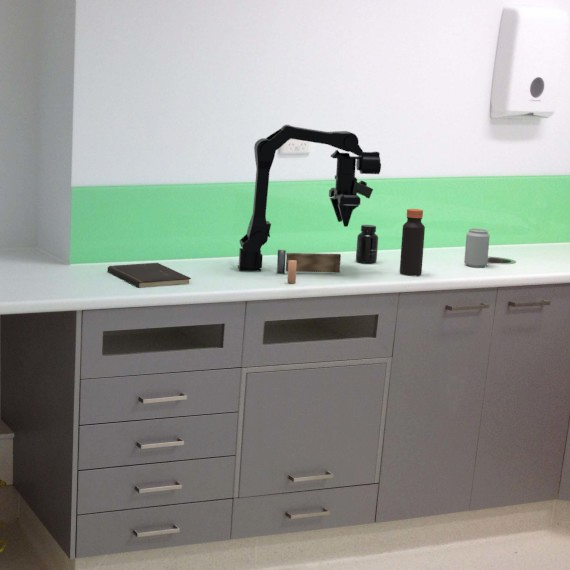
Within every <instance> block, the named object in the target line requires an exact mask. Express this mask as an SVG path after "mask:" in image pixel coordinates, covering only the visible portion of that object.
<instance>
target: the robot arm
mask: <svg viewBox="0 0 570 570" xmlns="http://www.w3.org/2000/svg"><path fill="white" fill-rule="evenodd" d="M289 140H297V141H302V142H303V141H305V142H310V143H316V144H323V145H328V146H330V147H333V148H336V149H335V151H334V152H333V153H332V154H330V158H332V159H336V173H335V175H334V180H335V187H331V188H330V189H329V191H328V197H329V201H330V203H331V205H332V207H333V208H332V209H333V210H334V214H335V216H336V219H337V222H338V223H339V222H342V224H343V227H348V225H349V223H350V221H351V217H352V214H353V211H354V210H356V209H357V208H358V207H359V206H360V205H361V197H360V196H359V195H361V196H363V197H364V198H367V199H370V198H371V196H372V193H373V191H374V189H373V188H372V187H370V186H368V185H367V182H366V181H364V180H360V181H359V182H358V178H357V177H356V170H357V171H359V174H360V175H361V174H362V175H379V174H380V173H381V170H382V169H381V168H382V163H381V156H380V155H381V154H380V152H379V151H363V149H362V147H361V146H360V144H359V138H358V136H357V135H356V134H355V133H353V132H351V131H347V130H338V131H336V130H335V131H325V130H324V131H323V130H318V129H311V128H305V127H299V126H292V125H290V124H284V125H283V126H281V127H280V129H278V130H276V131H274V132H273V133H271V134H270V135H269V136H267V137H263V138H260V139H257V141H256V142H255V143H254V146H253V147H254V148H253V149H254V150H253V151H254V159H255V160H254V161H255V166H256V171H255V185H254V194H253V195H254V196H253V206H252V214H251V217H250V220H249V224H248V227H247V230H246V234H245V235H243V237H241V238H240V239H239V244H240V247H239V248H238V249H239V252H238V255H239V257H238V265H237V267H238V270H239V271H240V272H262V268H263V253H262V250H261V249H262V246H264V245H265V244H267V242H268V239H269V238H270V237H271V234H270V231H271V227H272V223H271V222H270V221H269V220H267V218H266V217H267V216H266V215H267V214H266V213H267V204H268V193H269V181H270V171H271V168H272V165H273V163H274V159H275V156H276V151H278V150H279V149H280V148H282V147H283V146H284V145H285V144H286V143H287V142H289ZM338 149H339V150H342V151H343V152H340V151H339V150H338ZM350 153H352V154H353V155H356V156H353V155H352V156H351V155H350ZM358 194H359V195H358Z"/></svg>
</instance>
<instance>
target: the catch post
mask: <svg viewBox="0 0 570 570" xmlns="http://www.w3.org/2000/svg"><path fill="white" fill-rule="evenodd" d="M296 265H297V261H296V260H288V272H287V284H292V285H293V284H297V283H296V282H297V272H296Z"/></svg>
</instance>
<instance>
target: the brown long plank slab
mask: <svg viewBox="0 0 570 570" xmlns="http://www.w3.org/2000/svg"><path fill="white" fill-rule="evenodd" d="M341 259H342V256H341V254H340V253H318V252H317V253H314V252H313V253H308V252H307V253H304V252H286V258H285V273H286V272H287V273H288V260H296V261H297V265H296V273H334V274H335V273H336V274H337V273H338V274H339V273H341Z"/></svg>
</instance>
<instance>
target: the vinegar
mask: <svg viewBox="0 0 570 570" xmlns="http://www.w3.org/2000/svg"><path fill="white" fill-rule="evenodd" d="M423 216H424V210H422V209H418V208H407V209H406V219H407V220H406V222H405V223H404V224H403V225H402V231H401V232H402V233H401V247H400V260H399V262H400V263H399V273H400V275H403V276H415V277H417V276H418V277H419V276H421V275H422V271H423V270H422V269H423V259H424V258H423V257H424V246H425V245H424V244H425V230H426V226H425V225H424V224H423V223H422V220H423Z"/></svg>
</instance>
